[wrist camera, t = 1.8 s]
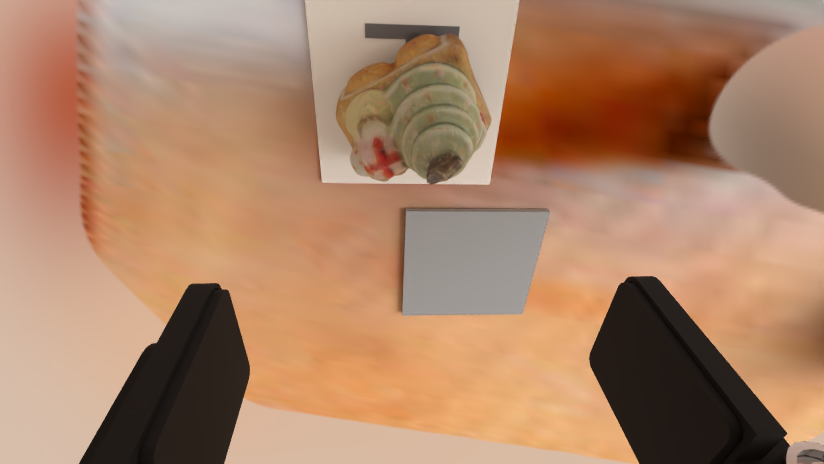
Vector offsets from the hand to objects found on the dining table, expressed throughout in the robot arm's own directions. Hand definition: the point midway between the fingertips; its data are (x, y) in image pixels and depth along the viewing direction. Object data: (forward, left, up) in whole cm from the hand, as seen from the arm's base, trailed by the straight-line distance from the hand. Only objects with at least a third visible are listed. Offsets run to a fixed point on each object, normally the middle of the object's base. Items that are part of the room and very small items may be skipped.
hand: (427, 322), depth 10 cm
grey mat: (-5, +12, -17) cm, 22 cm away
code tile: (0, 0, -17) cm, 17 cm away
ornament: (0, 0, -17) cm, 17 cm away
